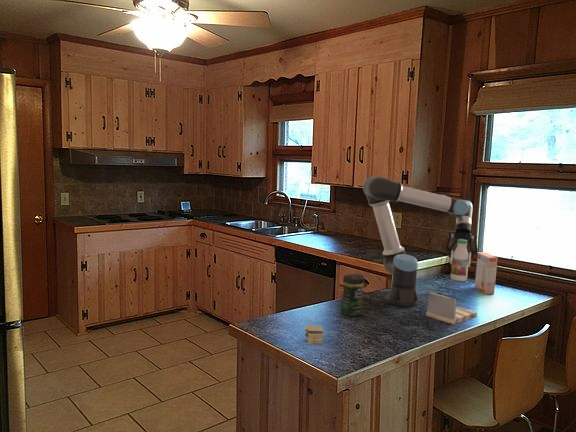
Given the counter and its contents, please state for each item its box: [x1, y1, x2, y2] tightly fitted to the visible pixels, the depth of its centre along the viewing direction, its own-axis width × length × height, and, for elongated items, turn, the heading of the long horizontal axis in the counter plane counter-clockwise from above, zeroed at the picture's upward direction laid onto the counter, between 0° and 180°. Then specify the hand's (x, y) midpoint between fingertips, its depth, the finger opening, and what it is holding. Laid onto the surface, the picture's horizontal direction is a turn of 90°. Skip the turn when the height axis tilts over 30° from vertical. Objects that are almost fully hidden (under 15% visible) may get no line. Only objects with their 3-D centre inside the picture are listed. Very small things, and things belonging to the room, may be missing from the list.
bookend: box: [427, 291, 457, 320], centre depth 211 cm, size 2×13×9 cm, turn 40°
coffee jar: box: [340, 273, 365, 317], centre depth 213 cm, size 10×8×19 cm
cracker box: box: [474, 252, 499, 295], centre depth 264 cm, size 14×6×21 cm, turn 179°
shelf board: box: [425, 305, 478, 325], centre depth 217 cm, size 20×14×2 cm
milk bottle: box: [450, 239, 469, 282], centre depth 231 cm, size 8×8×20 cm
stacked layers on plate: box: [304, 324, 325, 345], centre depth 179 cm, size 10×9×6 cm
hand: (460, 263), depth 228 cm, fingers closed on milk bottle, 8 cm apart
